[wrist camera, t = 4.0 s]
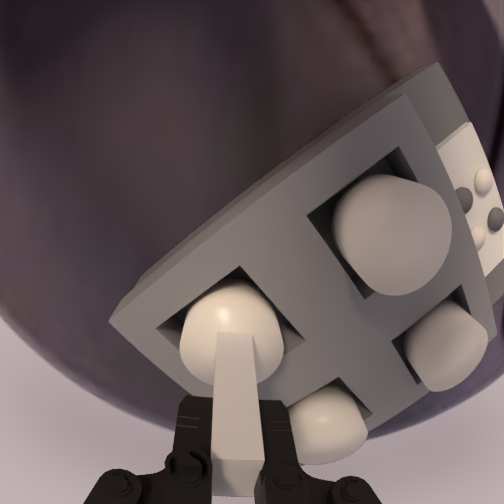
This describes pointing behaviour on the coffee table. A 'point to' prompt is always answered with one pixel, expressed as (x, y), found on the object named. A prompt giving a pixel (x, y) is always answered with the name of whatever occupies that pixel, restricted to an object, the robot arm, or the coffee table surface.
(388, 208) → the inner button
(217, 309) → the inner button
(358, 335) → the board
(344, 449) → the outer button
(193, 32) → the coffee table surface
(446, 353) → the outer button
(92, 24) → the coffee table surface
